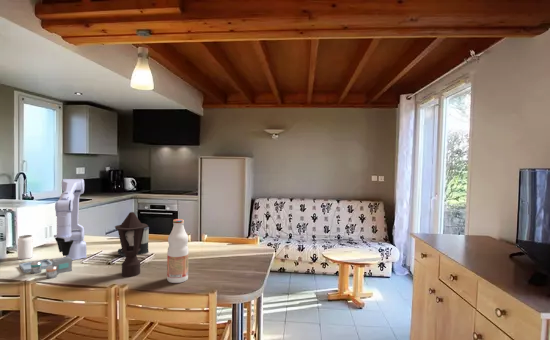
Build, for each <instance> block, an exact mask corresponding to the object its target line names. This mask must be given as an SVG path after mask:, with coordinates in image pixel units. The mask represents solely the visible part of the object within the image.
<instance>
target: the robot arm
mask: <svg viewBox="0 0 550 340" xmlns="http://www.w3.org/2000/svg"><path fill="white" fill-rule="evenodd" d="M61 190H62V191H63V192H62V193H61V194H60V196H59V198H58V200H56V201H55V205H54V208H55V209H54V210H55V217H56V234H54V235H53V238H54V240H55V241H56V244H57V248H58V252H59V253H62V256H63V257H68V256H69V257H70V258H72V261H75V260H79V259H85V258H87V257H88V256H87V242H86V241H85V227H84V226H83V225H82V224H79V217H80V214H79V213H80V212H79V211H80V210H79V209H80V197H81V195H82V194H84V192H85V180H84V178H63V179H62V180H61Z"/></svg>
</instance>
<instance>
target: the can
mask: <svg viewBox="0 0 550 340" xmlns="http://www.w3.org/2000/svg"><path fill="white" fill-rule="evenodd" d="M33 247H34V237H33V235H32V234H24V235H20V236H18V239H17V259H18V260H21V261H24V260H28V259H31V258H33V257H34V248H33Z"/></svg>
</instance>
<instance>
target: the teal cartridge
mask: <svg viewBox="0 0 550 340" xmlns="http://www.w3.org/2000/svg"><path fill="white" fill-rule="evenodd" d="M33 261H34V262H32V261H30V262H31V272H30V273H31V275H37V274H41V273H42V269H41V261H38V260H33Z"/></svg>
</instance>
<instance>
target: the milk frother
mask: <svg viewBox="0 0 550 340" xmlns="http://www.w3.org/2000/svg"><path fill="white" fill-rule="evenodd" d="M149 229H150V227H149V226H148V227H146V228H144V232H143V237H142V242H141V246H140V251H139V252H138V254H137V255H145V254H147V253H149V236H150V233H149V231H150V230H149ZM116 253H117V255H119V256H121V257H122V258H123V257H126V256H125V253H123V252H122V248H119V249H117V252H116Z"/></svg>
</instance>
